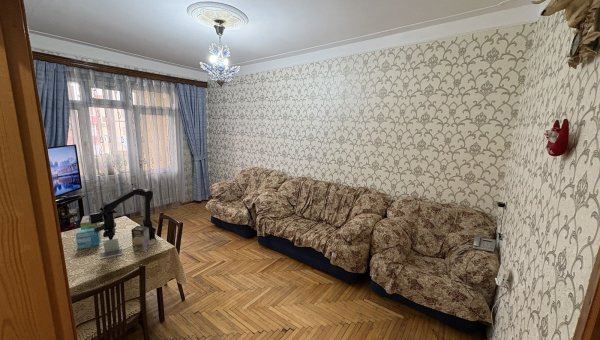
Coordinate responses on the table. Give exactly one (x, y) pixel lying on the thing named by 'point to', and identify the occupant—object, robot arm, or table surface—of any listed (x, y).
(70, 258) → the table surface
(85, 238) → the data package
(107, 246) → the tile
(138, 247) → the coffee box
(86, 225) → the tea box
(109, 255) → the mat
